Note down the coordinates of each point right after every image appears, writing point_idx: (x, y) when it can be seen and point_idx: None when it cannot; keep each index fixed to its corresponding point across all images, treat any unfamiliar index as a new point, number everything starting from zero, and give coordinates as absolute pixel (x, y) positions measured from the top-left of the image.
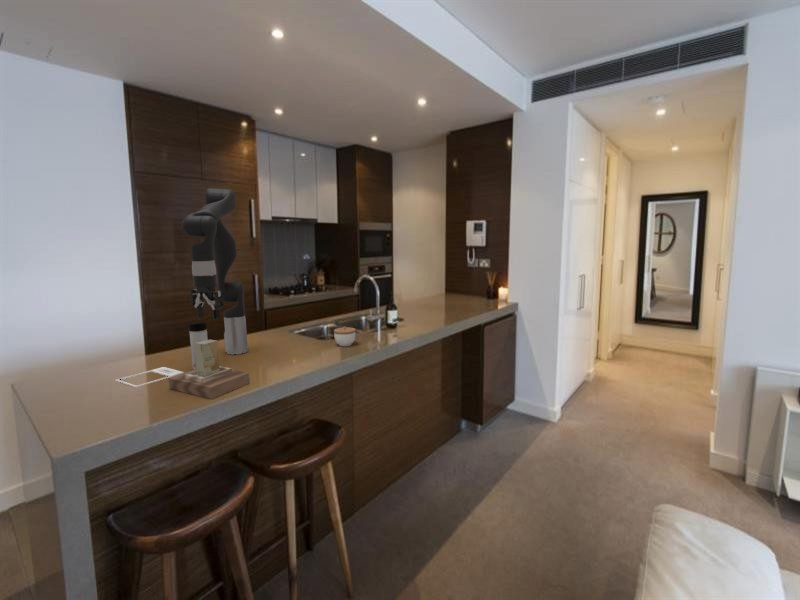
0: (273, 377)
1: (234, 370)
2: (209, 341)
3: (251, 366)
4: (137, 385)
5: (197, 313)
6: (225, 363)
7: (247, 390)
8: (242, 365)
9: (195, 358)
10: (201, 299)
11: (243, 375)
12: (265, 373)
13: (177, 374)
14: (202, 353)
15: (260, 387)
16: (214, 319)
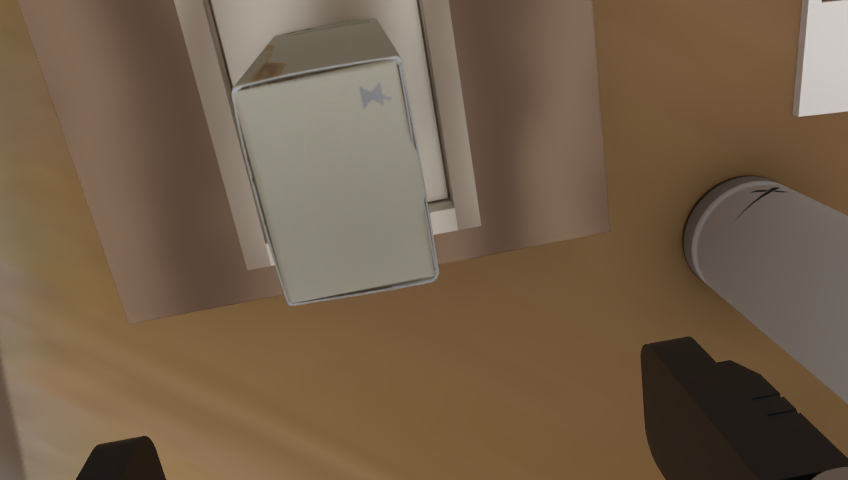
0: None
1: None
2: (313, 216)
3: (490, 474)
4: None
5: (705, 386)
6: None
7: (18, 206)
8: (566, 449)
9: (783, 217)
10: None
11: (113, 274)
12: (265, 456)
13: (801, 62)
14: (263, 61)
15: (7, 292)
16: (97, 447)
